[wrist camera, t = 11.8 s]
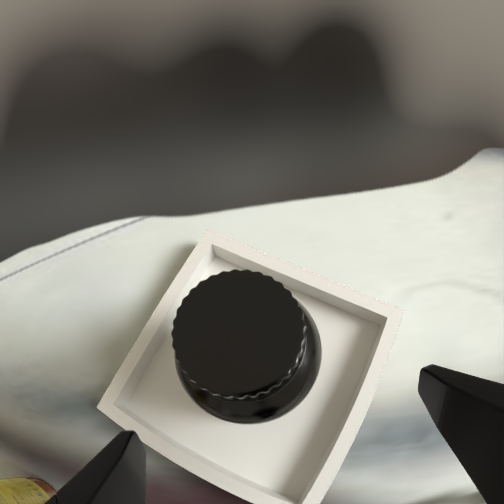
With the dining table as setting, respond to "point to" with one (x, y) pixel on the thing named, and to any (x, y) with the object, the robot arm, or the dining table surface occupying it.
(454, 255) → the dining table surface
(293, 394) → the supplement bottle
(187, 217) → the dining table surface
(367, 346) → the tray
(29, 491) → the sauce bottle
